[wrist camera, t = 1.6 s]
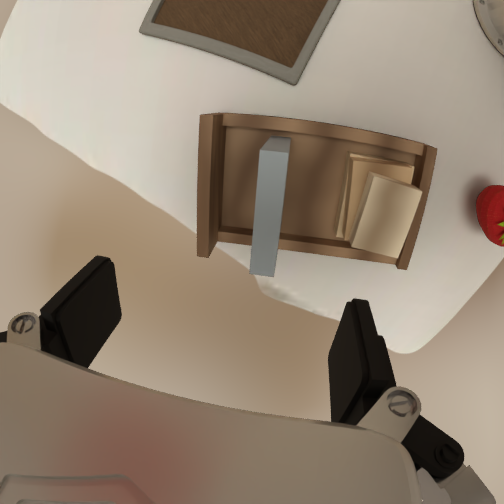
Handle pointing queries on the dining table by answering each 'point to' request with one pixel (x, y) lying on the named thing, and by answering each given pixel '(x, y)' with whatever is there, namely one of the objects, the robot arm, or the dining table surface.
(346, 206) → the offcut middle
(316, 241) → the tray
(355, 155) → the offcut bottom
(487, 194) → the strawberry
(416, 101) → the dining table surface
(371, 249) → the offcut top
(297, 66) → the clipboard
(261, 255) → the grey square slab
